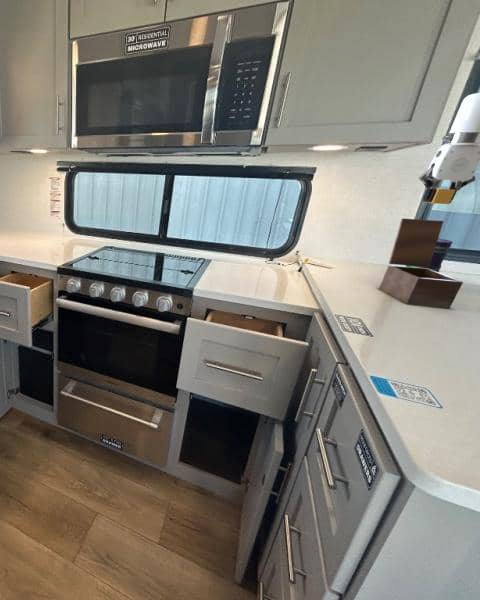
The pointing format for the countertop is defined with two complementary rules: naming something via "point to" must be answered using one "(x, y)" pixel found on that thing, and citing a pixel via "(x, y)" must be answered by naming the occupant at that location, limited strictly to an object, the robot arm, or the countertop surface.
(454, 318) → the countertop surface
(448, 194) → the block
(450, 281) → the chest
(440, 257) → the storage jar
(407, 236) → the lid
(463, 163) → the robot arm
